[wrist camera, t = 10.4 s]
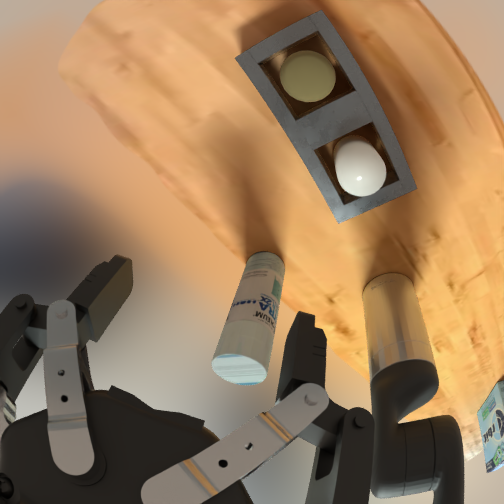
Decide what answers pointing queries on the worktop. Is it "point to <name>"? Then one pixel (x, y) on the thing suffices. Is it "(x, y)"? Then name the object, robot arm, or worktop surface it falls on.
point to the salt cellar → (358, 166)
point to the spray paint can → (251, 322)
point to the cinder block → (329, 115)
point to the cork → (307, 76)
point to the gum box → (493, 427)
